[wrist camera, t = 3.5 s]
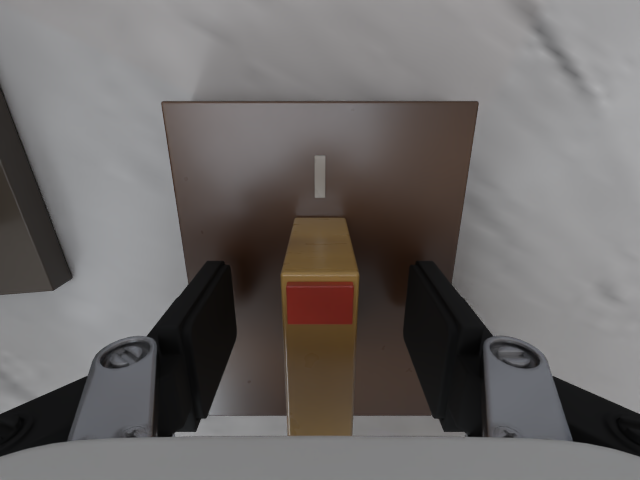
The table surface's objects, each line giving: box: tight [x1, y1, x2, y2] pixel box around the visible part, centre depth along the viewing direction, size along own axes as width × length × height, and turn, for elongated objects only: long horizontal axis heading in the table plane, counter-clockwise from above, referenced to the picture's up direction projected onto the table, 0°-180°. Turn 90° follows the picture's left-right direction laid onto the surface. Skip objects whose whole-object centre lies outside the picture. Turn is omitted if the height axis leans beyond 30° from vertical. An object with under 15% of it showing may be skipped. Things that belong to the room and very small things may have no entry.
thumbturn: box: [280, 218, 359, 436], centre depth 11 cm, size 6×2×5 cm, turn 0°
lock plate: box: [161, 101, 479, 416], centre depth 14 cm, size 13×10×3 cm
